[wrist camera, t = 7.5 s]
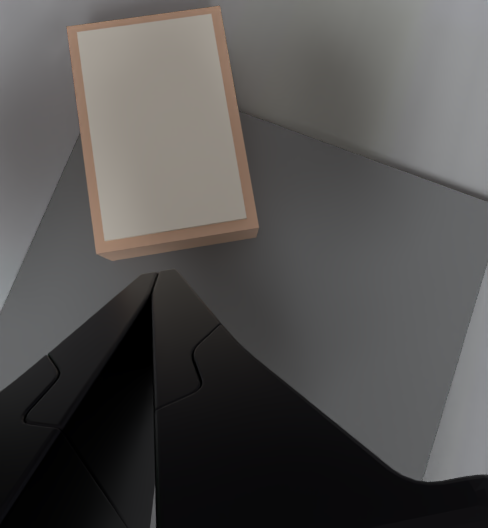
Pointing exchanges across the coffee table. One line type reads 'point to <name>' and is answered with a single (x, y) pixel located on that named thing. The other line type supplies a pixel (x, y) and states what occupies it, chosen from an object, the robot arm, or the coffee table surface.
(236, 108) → the tile
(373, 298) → the mat
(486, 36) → the coffee table surface
